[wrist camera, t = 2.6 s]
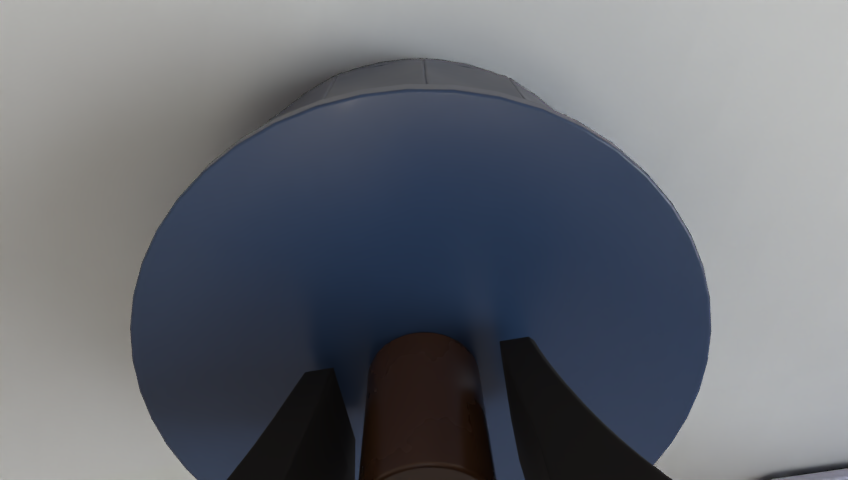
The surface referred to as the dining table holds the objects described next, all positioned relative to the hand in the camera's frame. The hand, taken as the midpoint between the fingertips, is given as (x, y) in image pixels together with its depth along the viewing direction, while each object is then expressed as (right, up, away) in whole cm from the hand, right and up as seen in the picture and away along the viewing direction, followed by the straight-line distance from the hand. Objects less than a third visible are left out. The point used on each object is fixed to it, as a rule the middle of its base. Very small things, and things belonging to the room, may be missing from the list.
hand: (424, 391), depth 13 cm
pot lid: (0, 0, +1) cm, 1 cm away
